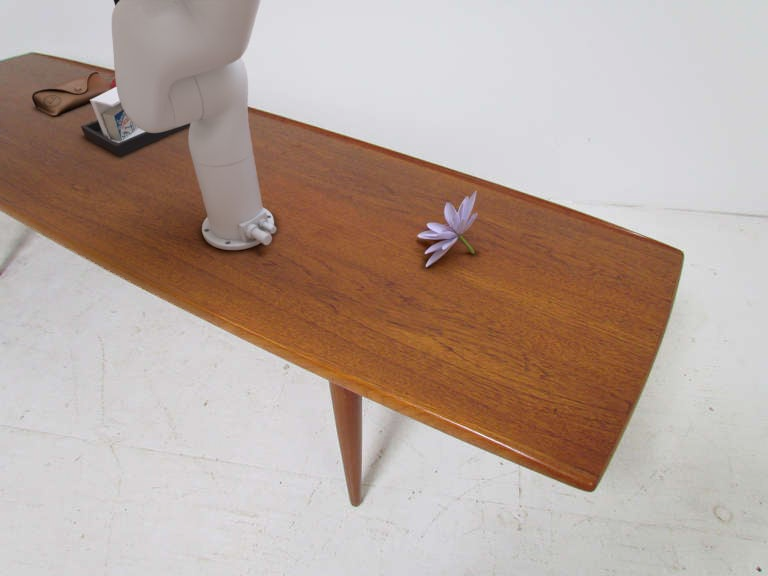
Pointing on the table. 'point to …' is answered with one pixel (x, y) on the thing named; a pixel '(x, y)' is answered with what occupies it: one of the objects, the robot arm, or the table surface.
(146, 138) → the tray
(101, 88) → the sunglasses case
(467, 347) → the table surface
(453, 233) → the water lily
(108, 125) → the cigarette display
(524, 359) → the table surface
